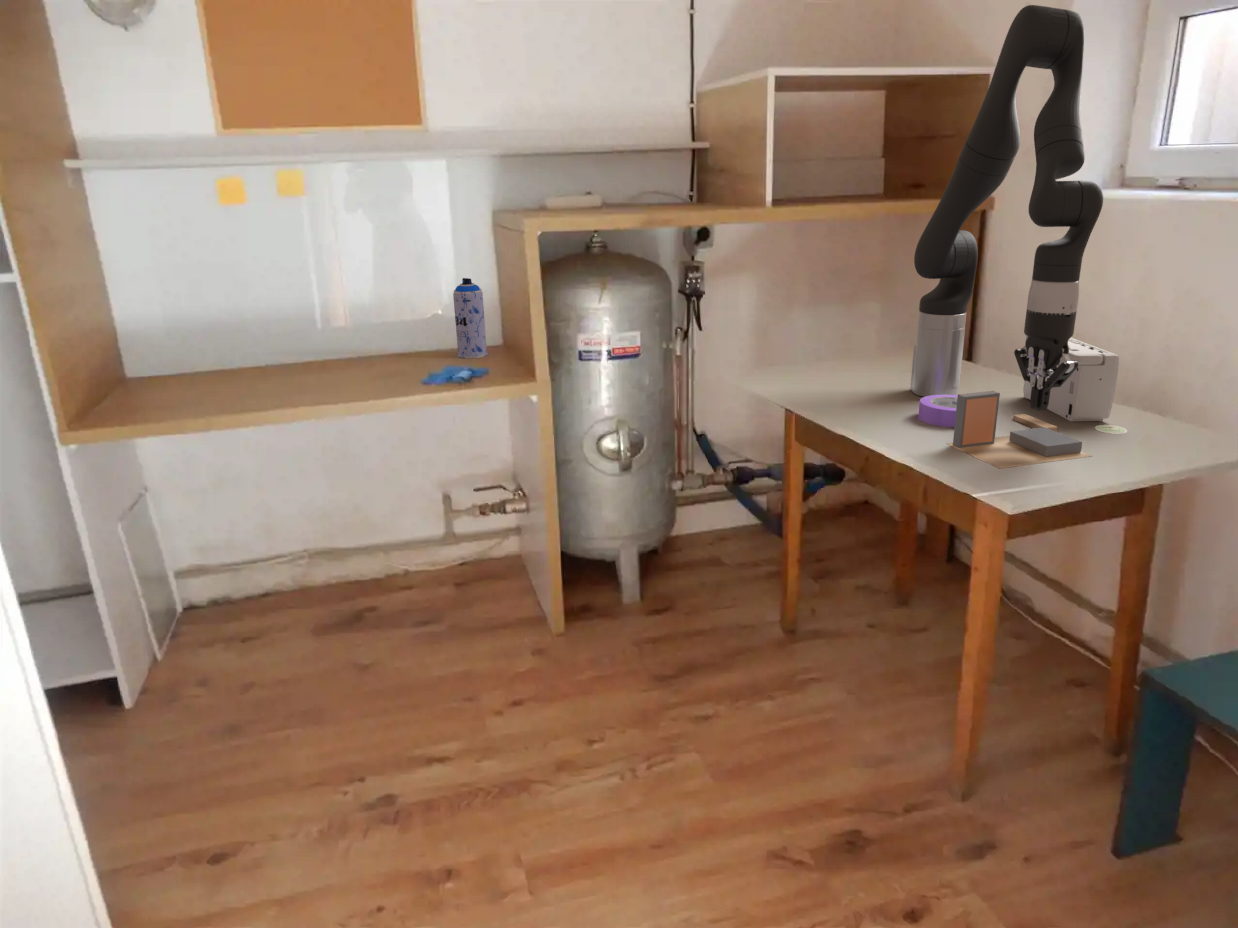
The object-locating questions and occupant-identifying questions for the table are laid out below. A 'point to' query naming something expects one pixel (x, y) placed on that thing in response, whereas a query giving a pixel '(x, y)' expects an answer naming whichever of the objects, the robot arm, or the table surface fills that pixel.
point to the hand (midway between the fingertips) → (1038, 408)
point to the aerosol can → (469, 320)
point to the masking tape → (938, 410)
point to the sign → (1111, 429)
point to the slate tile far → (1045, 441)
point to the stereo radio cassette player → (1084, 384)
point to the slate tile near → (976, 419)
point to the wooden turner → (1033, 422)
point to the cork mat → (1012, 454)
